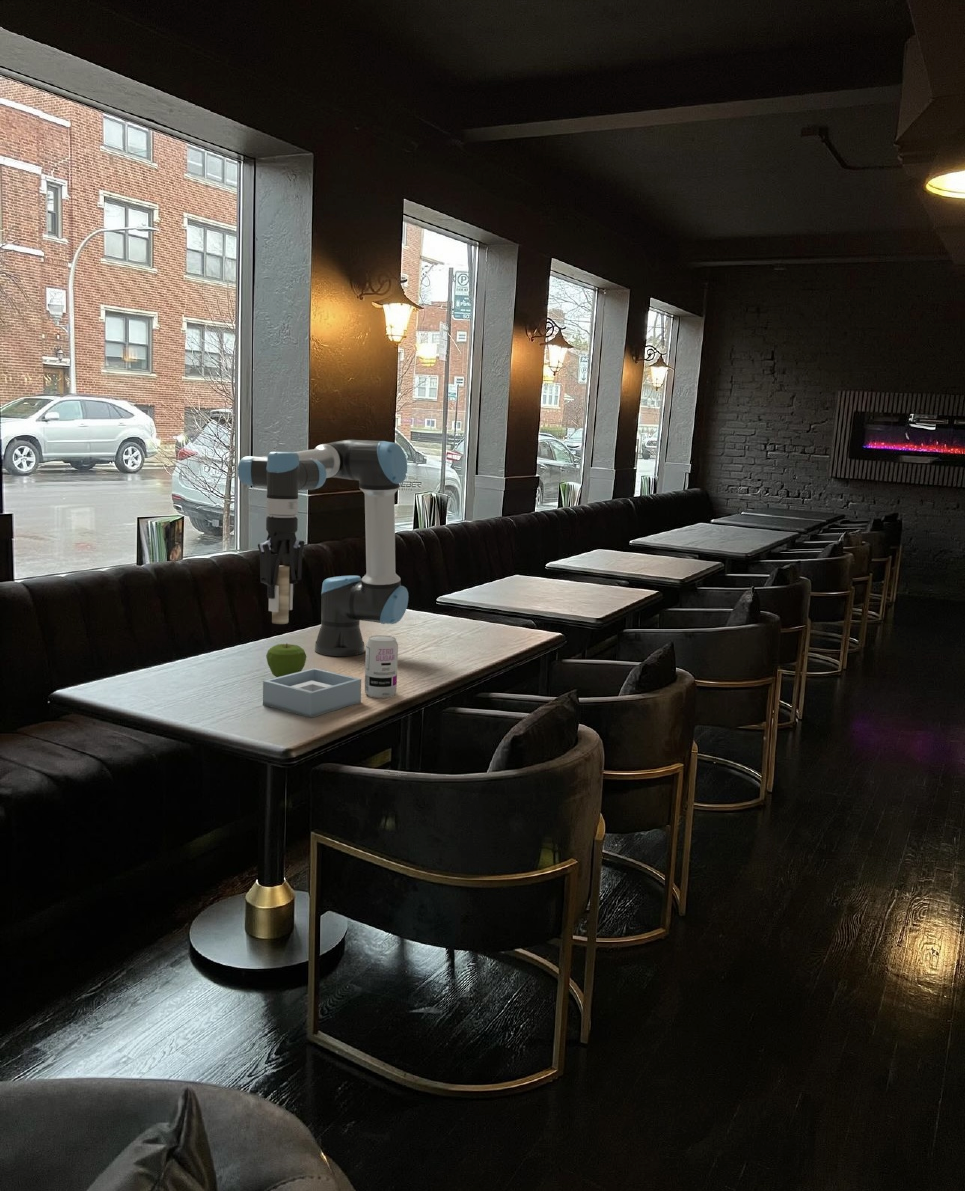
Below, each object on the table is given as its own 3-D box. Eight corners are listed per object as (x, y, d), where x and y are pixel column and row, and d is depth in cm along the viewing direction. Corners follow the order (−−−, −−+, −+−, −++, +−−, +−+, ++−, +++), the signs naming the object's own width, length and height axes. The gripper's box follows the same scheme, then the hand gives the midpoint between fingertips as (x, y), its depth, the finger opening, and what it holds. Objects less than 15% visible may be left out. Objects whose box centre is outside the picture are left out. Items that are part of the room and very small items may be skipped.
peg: (268, 622, 238) (269, 566, 236) (280, 620, 242) (281, 564, 239) (279, 624, 236) (280, 568, 234) (291, 622, 240) (292, 566, 237)
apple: (259, 677, 262) (259, 641, 260) (293, 672, 268) (294, 637, 267) (278, 686, 254) (278, 649, 252) (313, 681, 260) (313, 645, 259)
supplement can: (380, 688, 257) (382, 633, 254) (402, 695, 252) (404, 638, 249) (358, 693, 250) (359, 637, 248) (380, 700, 245) (382, 643, 243)
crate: (262, 704, 237) (263, 680, 236) (313, 690, 252) (314, 668, 251) (310, 717, 228) (311, 693, 227) (360, 702, 243) (361, 679, 242)
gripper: (266, 518, 226) (264, 616, 229) (318, 515, 239) (316, 608, 243) (244, 515, 230) (243, 612, 234) (296, 513, 244) (294, 604, 247)
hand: (280, 610), depth 238 cm, fingers closed on peg, 4 cm apart
